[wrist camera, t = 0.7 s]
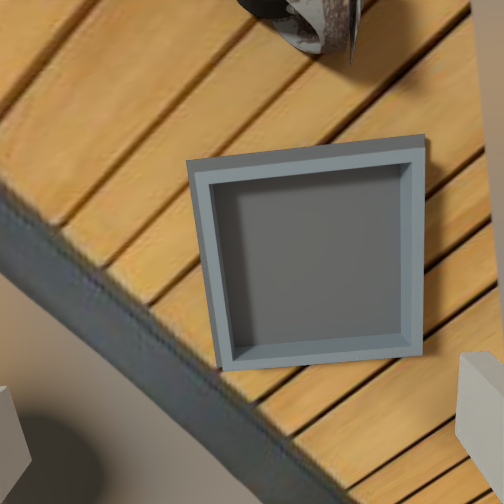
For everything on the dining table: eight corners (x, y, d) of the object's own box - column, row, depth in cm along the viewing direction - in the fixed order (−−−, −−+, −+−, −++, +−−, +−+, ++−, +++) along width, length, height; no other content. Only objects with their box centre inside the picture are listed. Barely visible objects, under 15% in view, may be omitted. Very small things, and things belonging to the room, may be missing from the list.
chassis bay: (188, 160, 32) (179, 161, 29) (419, 134, 31) (439, 132, 28) (218, 361, 37) (213, 382, 34) (417, 344, 36) (433, 364, 33)
